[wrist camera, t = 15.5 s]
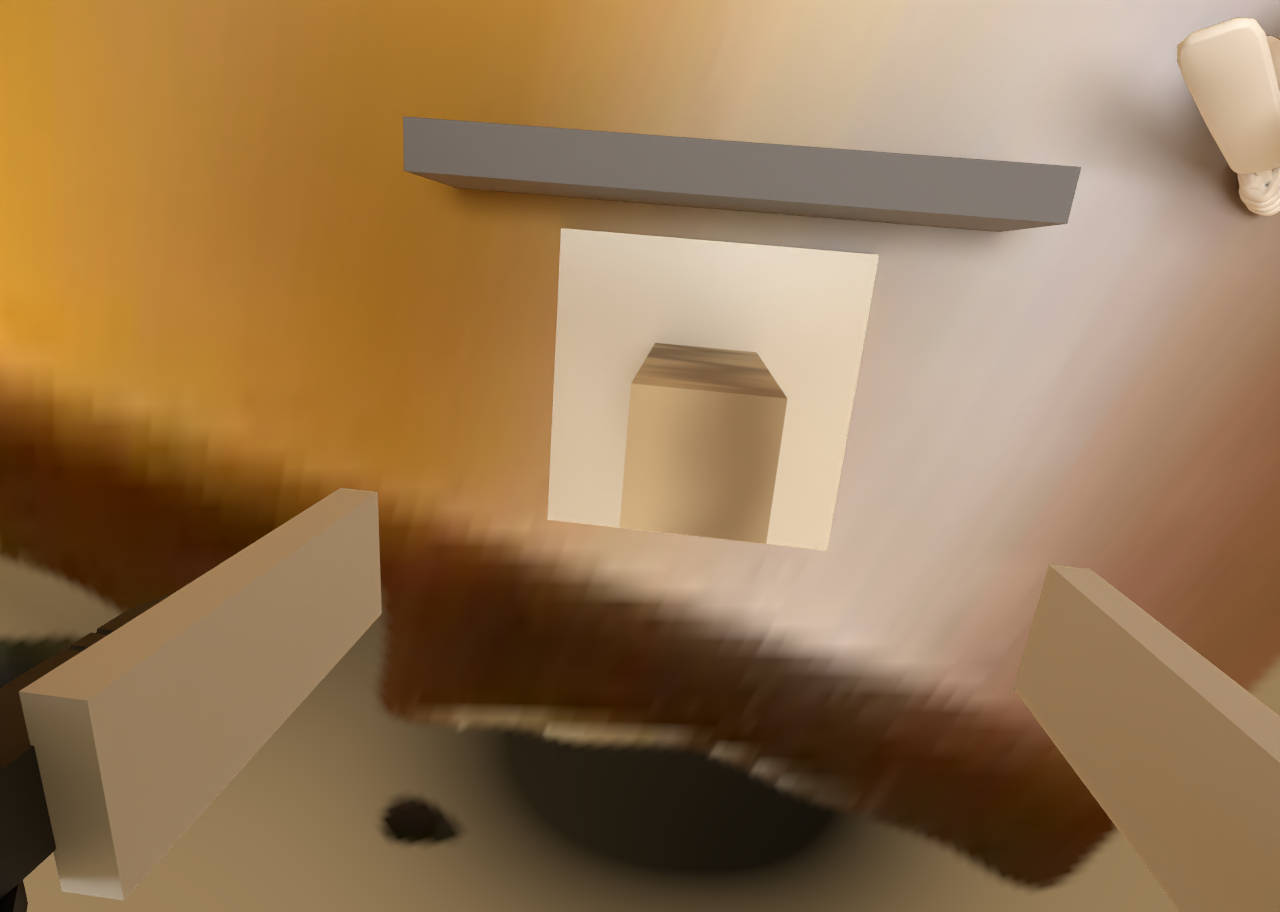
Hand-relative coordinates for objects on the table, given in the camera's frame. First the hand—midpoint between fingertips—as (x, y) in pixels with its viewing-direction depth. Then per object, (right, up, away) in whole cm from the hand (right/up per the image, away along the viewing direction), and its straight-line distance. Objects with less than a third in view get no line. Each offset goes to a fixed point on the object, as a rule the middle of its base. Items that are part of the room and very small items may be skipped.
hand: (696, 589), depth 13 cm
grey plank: (+3, +15, +18) cm, 24 cm away
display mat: (+2, +6, +21) cm, 22 cm away
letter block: (+2, +6, +20) cm, 21 cm away
